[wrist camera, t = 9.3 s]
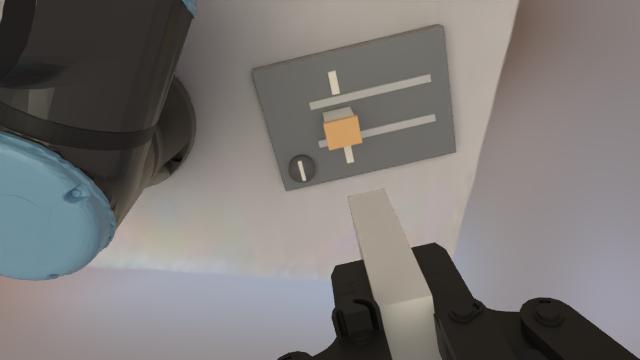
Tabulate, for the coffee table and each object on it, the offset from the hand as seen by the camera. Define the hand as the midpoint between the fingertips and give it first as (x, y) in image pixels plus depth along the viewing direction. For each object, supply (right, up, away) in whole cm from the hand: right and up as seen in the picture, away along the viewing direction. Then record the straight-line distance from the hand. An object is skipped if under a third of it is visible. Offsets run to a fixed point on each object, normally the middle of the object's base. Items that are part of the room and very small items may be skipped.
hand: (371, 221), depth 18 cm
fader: (0, +8, +29) cm, 31 cm away
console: (+2, +10, +31) cm, 33 cm away
